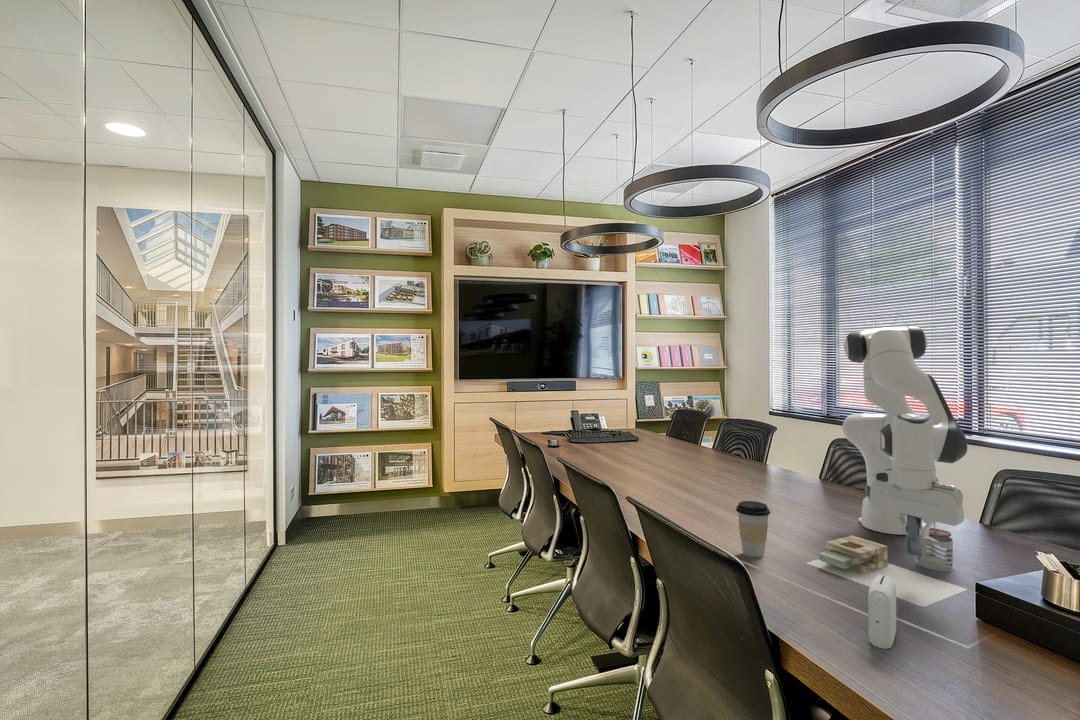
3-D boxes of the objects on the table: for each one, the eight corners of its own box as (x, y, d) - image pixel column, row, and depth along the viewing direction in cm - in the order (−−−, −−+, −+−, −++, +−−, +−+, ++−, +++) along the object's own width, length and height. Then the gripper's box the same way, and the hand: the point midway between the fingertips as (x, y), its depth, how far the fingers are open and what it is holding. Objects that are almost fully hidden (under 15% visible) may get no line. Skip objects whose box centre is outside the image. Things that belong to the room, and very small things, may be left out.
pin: (911, 550, 134) (911, 511, 133) (924, 554, 131) (924, 514, 131) (904, 552, 132) (904, 513, 132) (917, 556, 129) (917, 516, 129)
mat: (849, 552, 156) (849, 550, 156) (968, 591, 129) (968, 589, 129) (805, 564, 147) (805, 562, 147) (923, 609, 120) (923, 607, 120)
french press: (964, 575, 139) (963, 481, 139) (912, 569, 143) (911, 478, 143) (949, 562, 148) (948, 474, 148) (901, 557, 152) (900, 471, 152)
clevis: (851, 554, 154) (851, 535, 154) (887, 565, 145) (887, 546, 145) (814, 564, 146) (814, 545, 146) (849, 577, 137) (849, 556, 137)
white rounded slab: (892, 652, 103) (891, 589, 103) (866, 644, 106) (866, 583, 106) (898, 631, 111) (897, 573, 111) (874, 624, 114) (873, 568, 114)
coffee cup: (755, 563, 148) (754, 510, 148) (729, 552, 157) (728, 502, 157) (777, 557, 153) (777, 506, 153) (751, 547, 161) (750, 498, 161)
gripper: (969, 485, 123) (969, 543, 124) (879, 469, 142) (880, 520, 142) (955, 489, 121) (955, 548, 121) (865, 472, 139) (866, 523, 139)
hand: (914, 533), depth 131 cm, fingers closed on pin, 3 cm apart
